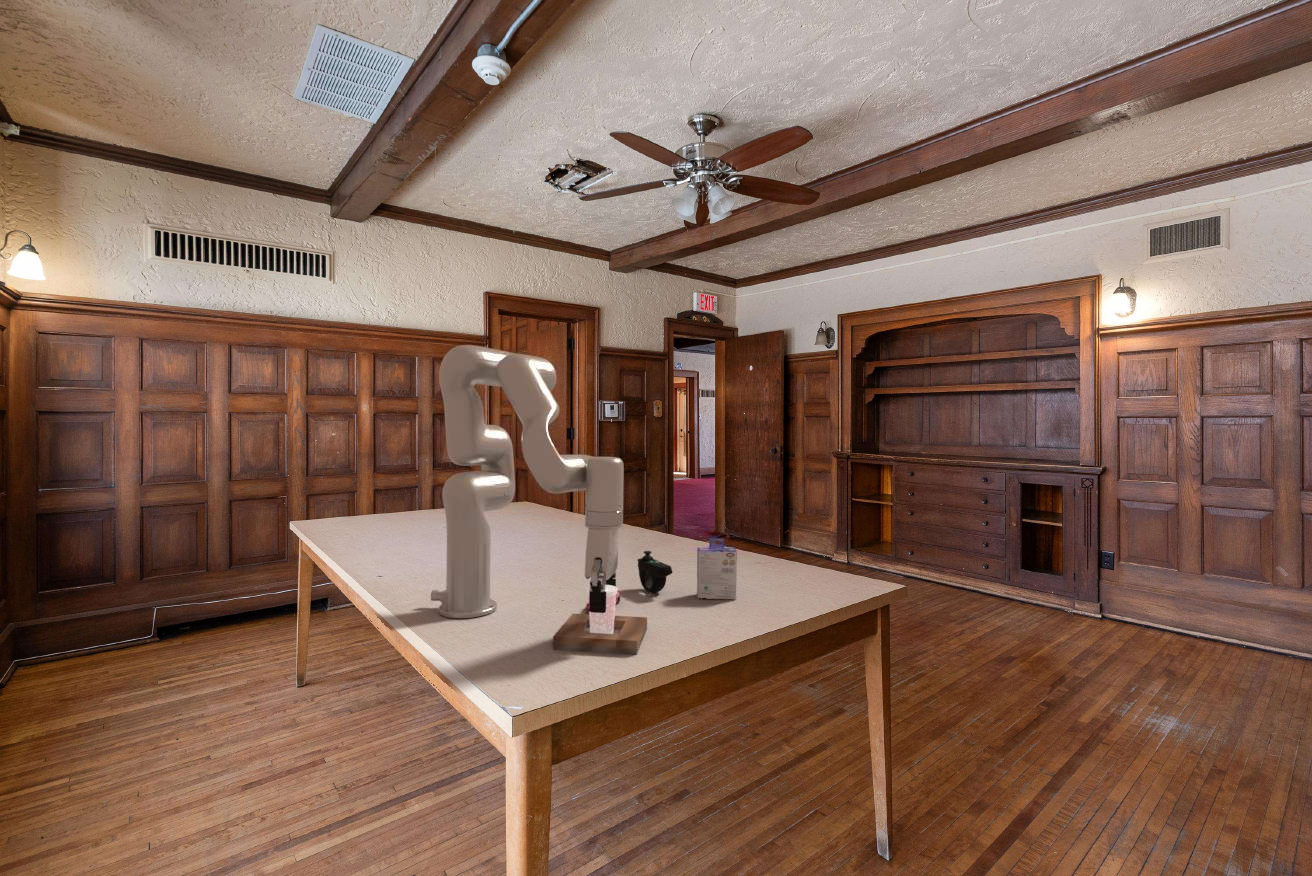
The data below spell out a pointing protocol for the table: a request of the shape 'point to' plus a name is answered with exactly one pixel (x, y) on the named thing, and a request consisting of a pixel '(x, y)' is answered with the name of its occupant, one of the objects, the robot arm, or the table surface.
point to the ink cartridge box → (716, 571)
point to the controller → (652, 573)
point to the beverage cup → (604, 620)
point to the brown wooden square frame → (601, 635)
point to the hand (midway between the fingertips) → (602, 604)
